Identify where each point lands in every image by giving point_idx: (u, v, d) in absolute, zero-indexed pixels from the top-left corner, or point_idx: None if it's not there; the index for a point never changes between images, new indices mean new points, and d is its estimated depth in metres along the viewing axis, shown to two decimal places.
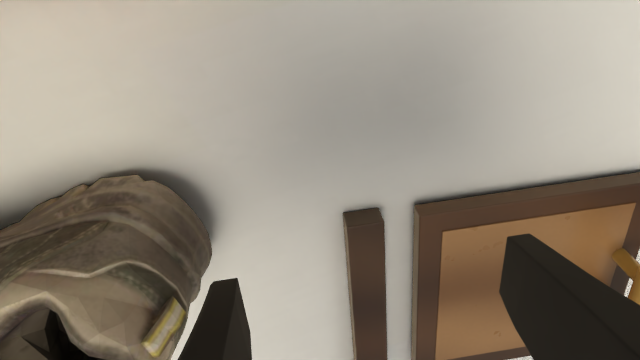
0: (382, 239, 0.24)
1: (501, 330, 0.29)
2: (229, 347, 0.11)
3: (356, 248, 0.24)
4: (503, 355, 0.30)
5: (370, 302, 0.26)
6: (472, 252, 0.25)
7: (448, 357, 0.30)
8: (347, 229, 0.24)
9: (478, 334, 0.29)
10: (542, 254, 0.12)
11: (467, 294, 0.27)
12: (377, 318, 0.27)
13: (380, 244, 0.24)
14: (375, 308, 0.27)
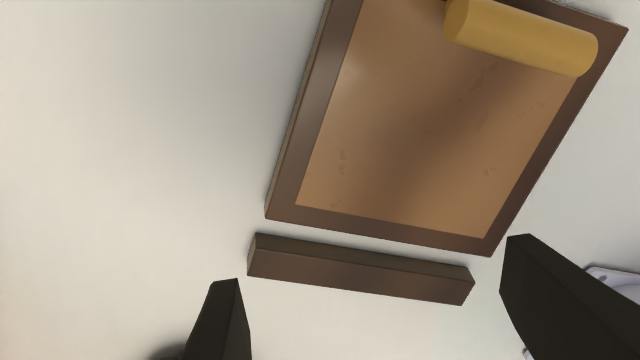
0: (276, 253, 0.24)
1: (487, 166, 0.23)
2: (229, 347, 0.11)
3: (276, 274, 0.25)
4: (535, 168, 0.23)
5: (352, 276, 0.25)
6: (340, 181, 0.22)
7: (488, 225, 0.25)
8: (250, 275, 0.24)
9: (477, 189, 0.23)
10: (542, 254, 0.12)
11: (402, 192, 0.23)
12: (378, 275, 0.25)
13: (282, 255, 0.24)
14: (363, 274, 0.25)
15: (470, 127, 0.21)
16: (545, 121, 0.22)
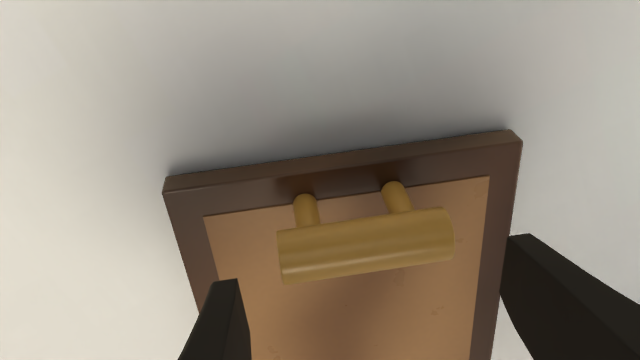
0: None
1: (432, 308, 0.20)
2: (229, 347, 0.11)
3: None
4: (489, 290, 0.20)
5: None
6: None
7: (467, 350, 0.22)
8: None
9: (434, 327, 0.21)
10: (542, 254, 0.12)
11: (353, 355, 0.21)
12: None
13: None
14: None
15: (390, 285, 0.19)
16: (474, 251, 0.19)
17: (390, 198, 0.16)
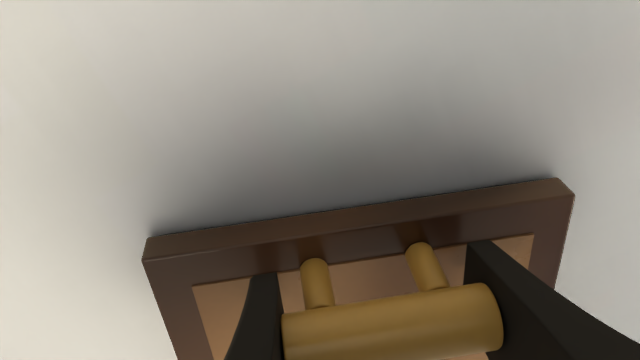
0: None
1: None
2: (276, 340, 0.11)
3: None
4: None
5: None
6: None
7: None
8: None
9: None
10: (498, 260, 0.12)
11: None
12: None
13: None
14: None
15: None
16: None
17: (418, 266, 0.13)
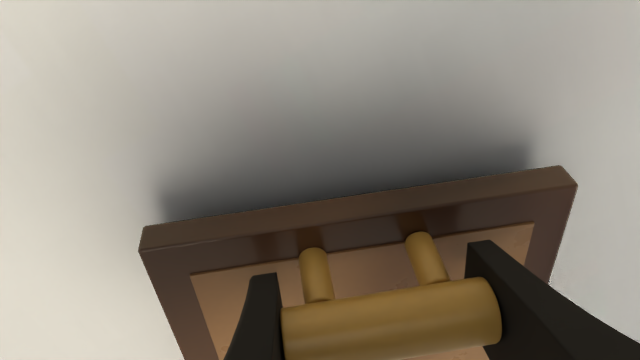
0: None
1: (453, 354, 0.18)
2: (276, 339, 0.11)
3: None
4: None
5: None
6: None
7: None
8: None
9: None
10: (499, 260, 0.12)
11: None
12: None
13: None
14: None
15: None
16: None
17: (417, 257, 0.13)
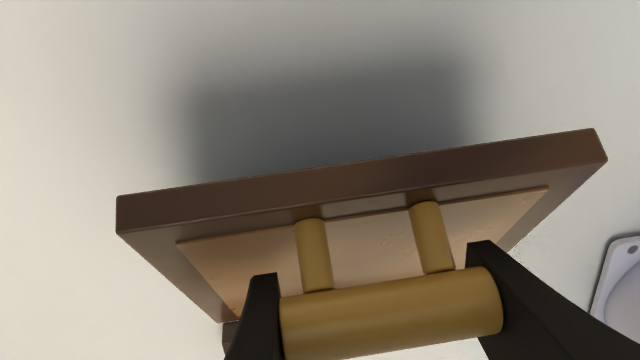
0: None
1: None
2: (276, 339, 0.11)
3: None
4: (501, 248, 0.18)
5: None
6: None
7: None
8: None
9: None
10: (498, 260, 0.12)
11: None
12: None
13: None
14: None
15: (396, 258, 0.17)
16: (498, 233, 0.16)
17: (422, 235, 0.12)
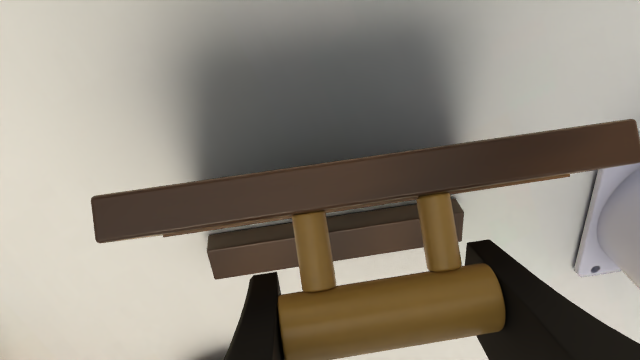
0: (230, 249, 0.23)
1: None
2: (276, 339, 0.11)
3: (242, 269, 0.23)
4: None
5: None
6: None
7: None
8: (218, 278, 0.24)
9: None
10: (498, 260, 0.12)
11: None
12: (349, 237, 0.23)
13: (237, 250, 0.23)
14: (332, 241, 0.23)
15: None
16: None
17: (430, 232, 0.12)
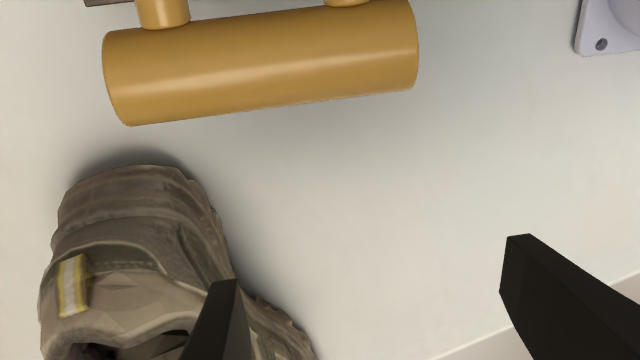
0: None
1: None
2: (229, 347, 0.11)
3: None
4: None
5: None
6: None
7: None
8: (91, 5, 0.17)
9: None
10: (542, 254, 0.12)
11: None
12: None
13: None
14: None
15: None
16: None
17: None
